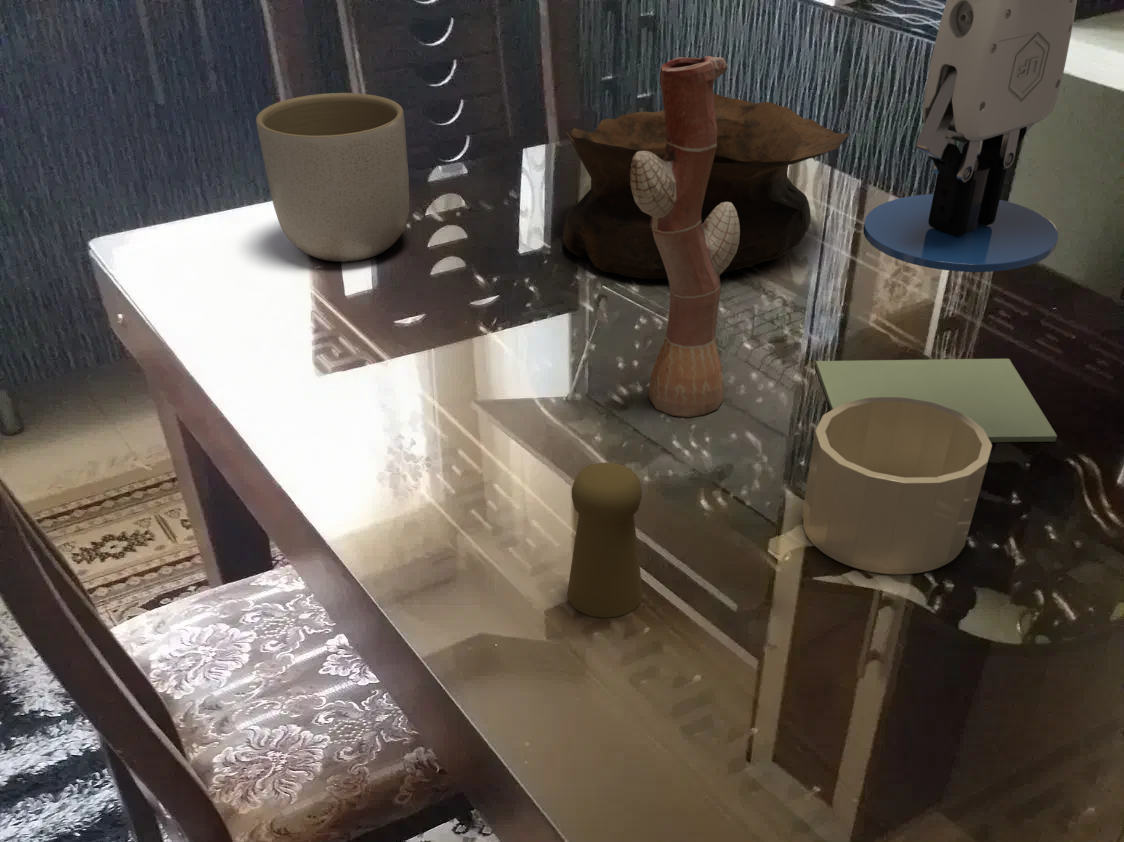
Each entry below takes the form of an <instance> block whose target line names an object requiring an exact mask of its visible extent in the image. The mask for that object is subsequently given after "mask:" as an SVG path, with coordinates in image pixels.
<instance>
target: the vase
mask: <svg viewBox="0 0 1124 842" xmlns="http://www.w3.org/2000/svg"><path fill="white" fill-rule="evenodd" d="M727 70H728V64H727V61H726V60H725V58H723V57H720V56H718V57H717V56H716V57H714V56H712V55H705V56H703V57H682V56H680V57H676V58H673V59H670V60H668V61H666V62H665V63H663V64H662V65H661V67H660V74H659V85H660V91H661V96H662V106H663V110H664V114H665V121H666V148H665V155H664V157H663V159H661V158H659V157H658V156H657V155H655V154H654V153H652V152H649V151H638V152H637V153H636V154H635V155H634V156H633V159H632V163H631V171H630V185H631V189H632V194H633V197H634V200H635V203H636V204H637V205H638V207H639V208H640V209H641V211H643V212H645V213H646V214H648V215H650V216H651V223H650V224H651V228H652V232H653V235H654V239H655V242H656V245H657V247H658V250H659V252H660V255H661V257H662V260H663V263H664V266H665V269H666V273H667V276H668V279H667V280H668V285H669V310H668V322H667V328H666V333H665V338H664V340H663V342H662V345H661V347H660V350H659V352H658V355H657V358H656V360H655V363H654V365H653V369H652V372H651V375H650V379H649V386H648V399H649V400H650V402H651V404H652V405H653V406H654V408H655V409H656V410H657V411H659V412H662V413H664V414H666V415H668V416H671V417H679V418H680V417H681V418H692V417H693V418H694V417H700V416H705V415H707V414H711V413H713V412H715V411H716V410H718V408H719V407H720V406H721V404H722V403H723V402H724V377H723V371H722V370H723V369H722V364H721V359H720V355H719V350H718V345H717V340H716V336H717V335H716V332H717V318H718V312H719V311H718V310H719V304H720V300H721V291H722V289H721V288H722V285H721V278H720V275H721V274H723V273H724V272H723V271H724V270H725V269H726V268H727V267H728V266H729V264H730V262H731V261H732V259H733V257H734V256H735V254H736V252H737V249H738V245H739V238H740V225H739V219H738V215H737V211H736V209H735V207H734V206H733V204H732V203H731V202H723V203H720V204H719V205H718V206H717V207H715V209H714V210H713V211H712V212H711V213H710V214H709V216H708V217H707V218H706V220H705V221H704V223H703V224H702V221H701V212H702V206H703V201H704V197H705V192H706V188H707V184H708V180H709V176H710V172H711V168H712V164H713V160H714V156H715V152H716V148H717V126H716V115H715V104H714V94H715V93H714V83H715V80H716V79H717V78H719V77H721V76H722V75H723V74H724V73H726V71H727ZM722 272H723V273H722Z"/></svg>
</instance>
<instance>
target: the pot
mask: <svg viewBox="0 0 1124 842" xmlns="http://www.w3.org/2000/svg"><path fill="white" fill-rule="evenodd" d="M992 449H993V443H992V442H990V440H989V438H988V436H987V434H986V433H985V431H984V429H983V428H982V427H981V426H979V425H978V424H976V423H975V422H974V421H972V420H971V419H970V418H968V417H967V416H965V415H964V414H962V413H960V412H958V411H955V410H952V409H950V408H947V407H944V406H942V405H939V404H937V403H933V402H928V401H922V400H916V399H910V398H904V397H902V398H901V397H871V398H865V399H861V400H856V401H852V402H847V403H843V404H841V405H839V406H837V407H836V408H834V409H832V410H829V411H827V412H826V413H824V414H823V415H822V416H821V418H820V420H819V422H818V424H817V426H816V428H815V430H814V436H813V443H812V449H811V456H810V461H809V467H808V474H807V480H806V487H805V494H804V500H803V506H802V513H801V516H802V526H803V531H804V532H805V535H806V537H807V538H808V540H809V541H810V542H811V544H812V545H813V546H814V547H815V548H817V550H818V551H820V552H821V553H823V554H824V555H825V556H827V557H829V558H831V559H833V560H834V561H836V562H838V563H841V564H843V565H845V566H848V567H850V568H853V569H858V570H862V571H865V572H869V573H875V574H883V575H913V574H920V573H921V574H922V573H925V572H930V571H934V570H937V569H939V568H942V567H944V566H946V565H948V564H949V563H951V562H952V561H954V560H955V559H956V558H957V557H958V556H959V555H960V554H961V553H962V551H963V550H964V548H965V546H966V542H967V539H968V535H969V532H970V528H971V525H972V520H973V517H974V513H975V510H976V506H977V502H978V499H979V496H980V491H981V489H982V485H983V482H984V478H985V473H986V470H987V466H988V464H989V459H990V457H991V452H992Z"/></svg>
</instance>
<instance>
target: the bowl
mask: <svg viewBox="0 0 1124 842" xmlns="http://www.w3.org/2000/svg"><path fill="white" fill-rule="evenodd" d="M714 104H715V115H716V126H717V148H716V152H715V156H714V160H713V164H712V168H711V172H710V176H709V180H708V184H707V188H706V192H705V197H704V201H703V206H702V212H701V221H702V224H703V223H704V221H705V220H706V218H707V217H708V216H709V214H710V213H711V212H712V211H713V210H714V209H715V207H717V206H718V205H719V204H720V203H723V202H731V203H732V204H733V206H734V207H735V209H736V211H737V215H738V219H739V225H740V238H739V245H738V249H737V252H736V254H735V256H734V257H733V259H732V261H731V262H730V264H729V266H728V267H727V268H726V269H725V270H724V271H723V272H722V273H721V274H723V273H728V272H732V271H736V270H739V269H745V268H750V267H753V266H756V265H758V264H761V263H765V262H768V261H774V260H777V259H780V258H782V257H783V256H784V255H785V254H787V253H789V252H790V251H791V250H793V249H794V248H796V247H797V246H799V244H801V242H802V241H803V239H804V238H805V237H806V234H807V233H808V231H809V229H810V225H811V218H812V217H811V207H810V202H809V199H808V198H807V195H806V193H804V192H802V191H801V190H800V189H799V188H798V187H797V186H795V185H794V184H793V183H792V181H791V180H790V178H789V176H788V172H789V166H790V165H795V164H798V163H801V162H804V161H807V160H809V159H813V158H817V157H820V156H822V155H825V154H828V153H830V152H832V151H834V150H837V149H840V148H841V146H842V143H843V142H844V141H845V140H846V139H847V138H848V137H849V136H850V135H851V134H850V132H847V133H846V132H845V133H838V132H834V130H833V129H831V128H827V127H825V126H823V125H821V124H819V123H818V122H817V121H816V120H815V119H812V118H803V116H801V115H799V114H798V113H796V112H795V111H794V110H792V109H791V108H789V107H787V106H781V105H778V104H777V103H774V102H770V101H762V102H751V101H748V100H744V99H739V98H732V97H728V96H724V95H720V94H718V93H714ZM570 132H571V134H570V133H569V132H568V131H565V133H566V135H567V137H568V138H569V140H570V142H571V143H572V145H573V148H574V150H575V152H576V154H577V155H578V158H579V159H580V161H581V162H582V164H583V166H584V168H585V170H586V172H587V174H588V176H589V178H590V188H589V190H588V191H587V192H586V193H585V195H584V196H583V197H582V198H581V199H580V200H579V201H578V203H577V204H576V205H574V206H573V207H572V208H571V209H569V211H568V212H567V213H566V215H565V218H564V223H563V227H562V240H563V244H564V246H565V248H566V249H567V250H568V252H569V253H572V254H573V255H574V256H576V257H578V258H585V257H588V259H589V260H590V262H592V264H593V266H594V267H596V268H597V269H599V270H601V271H602V272H607V273H612V274H613V273H614V274H616V275H619V276H626V277H629V278H637V279H642V280H663V279H664V280H668V276H667V273H666V269H665V266H664V263H663V260H662V257H661V255H660V252H659V250H658V247H657V245H656V242H655V239H654V235H653V232H652V228H651V224H650V223H651V216H650V215H648V214H646V213H645V212H643V211H641V209H640V208H639V207H638V205H637V204H636V203H635V200H634V197H633V194H632V189H631V185H630V171H631V163H632V159H633V156H634V155H635V154H636V153H637V152H638V151H649V152H652V153H654V154H655V155H657V156H658V157H659V158H661V159H663V157H664V155H665V148H666V121H665V114H664V109H663V110H659V111H658V110H657V111H654V112H651V111H641V112H640V111H637V112H631V113H627V114H622V115H620V116H618V117H617V118H605V119H601V121H600V123H599V124H598V126H597V127H596V129H595V131H591V132H588V131H585V130H583V129H579V128H577V127H573V129H572V130H570Z"/></svg>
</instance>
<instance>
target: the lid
mask: <svg viewBox="0 0 1124 842" xmlns="http://www.w3.org/2000/svg"><path fill="white" fill-rule="evenodd" d="M990 169H991V165H990V164H988V163H987V162H984V161H980V160H978V159H976V162H975V166H974V170H973V173H972V176H971V178H970V179H973V180H976V186H975V190H974V195H973V199H972V204H971V209H970V213H969V218H968V222H967V227H966V231H965V233H964V234H962V235H959V236H955V235H952V234H949V233H946V232H944V231H941V230H938V229H936V228H933V227H931V226H930V225H929V222H928V221H929V215H930V210H931V205H932V200H933V195H934V193H926V194H917V195H910V196H904V197H899V198H895V199H892V200H889V201H886V202H884V203H880V204H879V205H878V206H875V207H874V208H872V209H871V210H870V211H869V212H868V213H867V215H866V216H865V219H864V222H863V227H862V228H863V230H862V231H863V235H864V238H865V239H866V241H867V242H868V243H870V245H871V246H872V247H873V248H875V249H876V250H878V251H879V252H880V253H883V254H885V255H887V256H889V257H892V258H893V259H895V260H899V261H902V262H905V263H907V264H911V265H915V266H920V267H923V268H929V269H933V270H935V269H936V270H942V271H950V272H963V273H991V272H992V273H993V272H1003V271H1010V270H1016V269H1021V268H1024V267H1025V268H1026V267H1028V266H1032V265H1034V264H1037V263H1040V262H1041V261H1043V260H1046V258H1048V257H1049V256H1050V255H1052V253H1053V252H1054V251H1055V250H1056V247H1057V244H1058V240H1059V232H1058V228H1057V227H1056V225H1055V224H1054V223H1053V222H1052V221H1051V220H1050V219H1048V218H1047V217H1046V216H1044V215H1043V214H1041V213H1039V212H1037V211H1035V210H1033V209H1031V208H1029V207H1026V206H1023V205H1020V204H1018V203H1014V202H1011V201H1007V200H1003V199H1000V201H999V205H998V209H997V213H996V218H995V221H994V223H992V224H990V225H983V224H981V223H979V218H980V214H981V210H982V205H983V201H984V196H985V192H986V187H987V183H988V178H989V174H990Z"/></svg>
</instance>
